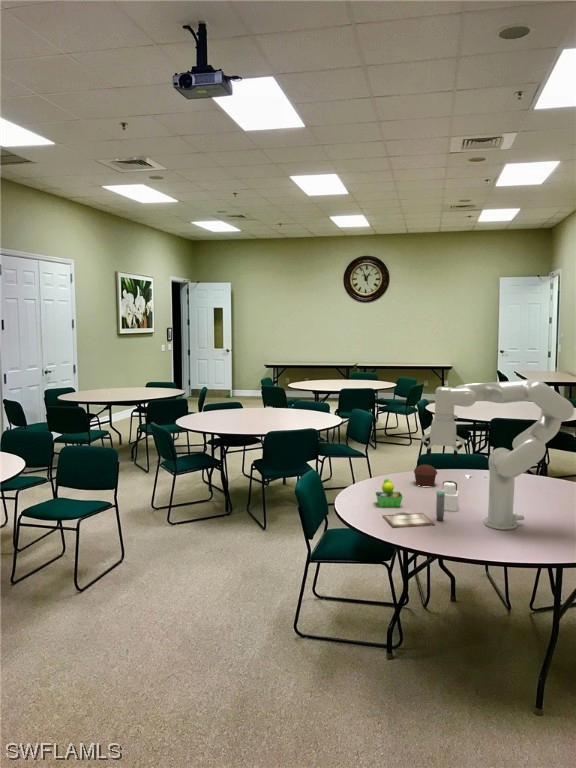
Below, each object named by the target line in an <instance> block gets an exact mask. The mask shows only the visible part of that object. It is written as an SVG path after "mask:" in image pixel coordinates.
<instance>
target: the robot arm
mask: <svg viewBox="0 0 576 768" xmlns="http://www.w3.org/2000/svg"><path fill="white" fill-rule="evenodd" d="M434 400H435V401H434V418H433V419H432V420H431V425H430V433H428V434H426V435H422V436H421V437H420V440H421V441H422V444H423V446H425V448H426V449H427V450H426V451H427V453H426V456H427V457H428V459H429V460H430V459H431V458H432V447H433V446H434V445H435V446H442V447H452V448H453V458H452V459H453V462H456V459H458V451H459V450H461V449H462V448H463V447H464V444H466V439H465V438H462V437H460V436H459V435H457V423H456V421H455V420H458V415H456V414H455V406H458V407H466V408H467V407H471V406H473V405H474V404H475V403H476V402H490V403H494V404H509V403H518V402H531V403H534V405H536V406H538V407H539V408H540V410H541V411H540V416H539V418H538V419H537V421H535V423H533V424H532V425H531V426H529V427H528V428H527V429H525V430H524V431H522V432H520V433H519V434H518V435H517V436H516V437H515V438H513V441H512V445H511V446H512V448H513V450H510V449H507V448H505V447H498V448H495V449H493V450H492V451H491V453H489V457H488V471H489V472H488V473H489V484H488V485H489V486H488V487H489V488H488V509H487V517H485V518H484V519H483V524H484V525H485V526H487V527H489V528H491V529H496V530H501V531H502V530H503V531H504V530H505V531H508V530H510V531H511V530H514V529H515V528H517V521H523V520H525V515H523V514H521V515H520V514H517V513H514V499H515V478H517V477H519V476H521V475H522V474H523V473H525V472H526V471H528V470H529V469H530V468H532V467H533V466H535V465H536V464H538V463H539V462H540V461H541V460H542V459H543V458H544V456H545V454H546V449H547V448H546V444H547V443H548V442H549V441H550V440H552V439H553V438H554V437H555V436H556V435H557V434H558V432H559V430H560V428H561V424H562V422H566V421H568V420H570V419H571V418H572V417H573V415H574V412H575V408H574V405H573V404H572V402H570V400H568V399H567V398H565V397H564V396H563V395H562V394H560V393H558V392H557V391H556V390H554V389H553V388H552V387H550V386H549V385H548V384H546V383H545V382H543V381H541V380H538V379H534V378H533V379H531V378H529V379H518V380H509V381H508V380H507V381H498V382H497V381H495V382H494V381H492V382H479V383H467V384H459V385H457V386H456V387H455V386H454V387H451V386H438V387H437V388H436V389H435V398H434ZM428 438H429V443H428V442H427V441H426V440H427V439H428ZM457 441H459V442H460V443H459V444H458V445H457Z"/></svg>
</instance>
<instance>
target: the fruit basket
mask: <svg viewBox="0 0 576 768" xmlns="http://www.w3.org/2000/svg"><path fill="white" fill-rule="evenodd" d="M394 488H395V486H394V484H393V482H392V480H390V479H389V478H385V479H384V480H383V484H382V485H381V490H382V491H376V492H375V496H376V499H377V503H378V506H379V508H400V506H401V504H402V500H403V497H404V496H403V495H402V493H401V491H394Z"/></svg>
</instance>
